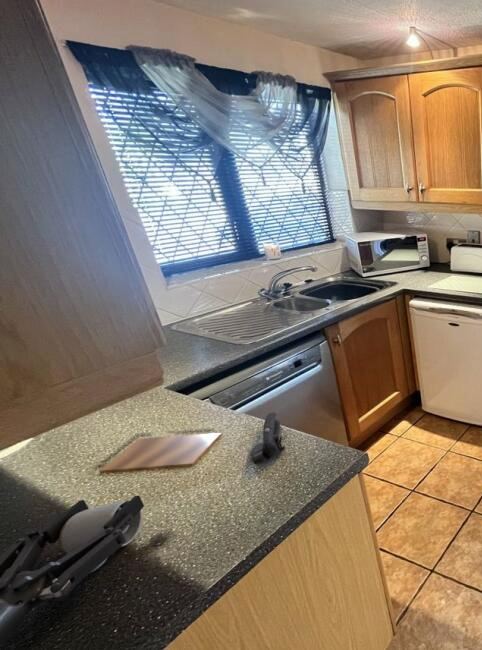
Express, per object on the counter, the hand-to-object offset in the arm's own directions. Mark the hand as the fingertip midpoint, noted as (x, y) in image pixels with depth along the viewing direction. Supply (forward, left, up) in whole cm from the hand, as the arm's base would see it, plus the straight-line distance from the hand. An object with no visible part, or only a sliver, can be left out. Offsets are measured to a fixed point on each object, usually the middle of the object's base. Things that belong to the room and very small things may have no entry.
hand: (112, 503), depth 71 cm
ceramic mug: (+1, -4, -6) cm, 8 cm away
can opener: (+17, +22, -6) cm, 28 cm away
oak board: (-8, +21, -6) cm, 24 cm away
